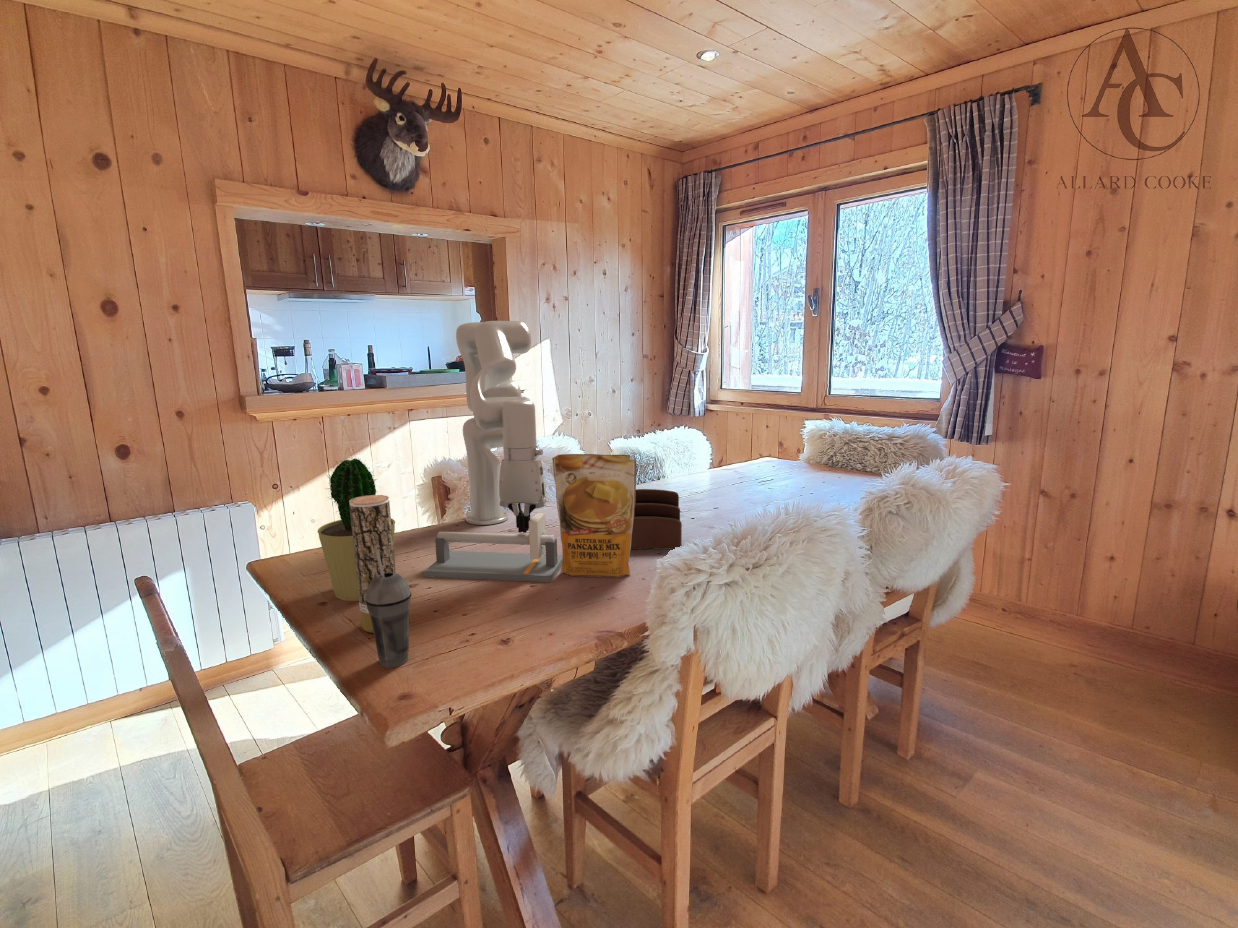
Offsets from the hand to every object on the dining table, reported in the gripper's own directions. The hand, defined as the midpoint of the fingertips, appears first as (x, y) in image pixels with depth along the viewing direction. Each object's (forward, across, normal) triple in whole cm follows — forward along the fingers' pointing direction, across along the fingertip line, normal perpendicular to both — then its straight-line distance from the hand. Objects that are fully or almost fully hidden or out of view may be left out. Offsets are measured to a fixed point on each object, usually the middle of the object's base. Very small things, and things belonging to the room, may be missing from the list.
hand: (523, 530), depth 143 cm
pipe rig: (+10, +7, 0) cm, 12 cm away
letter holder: (+10, -26, -22) cm, 36 cm away
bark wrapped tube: (+10, +19, +32) cm, 39 cm away
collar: (+6, -3, 0) cm, 7 cm away
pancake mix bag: (+10, -17, 0) cm, 20 cm away
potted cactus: (+10, +32, +16) cm, 37 cm away
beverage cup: (+10, +10, +44) cm, 46 cm away
